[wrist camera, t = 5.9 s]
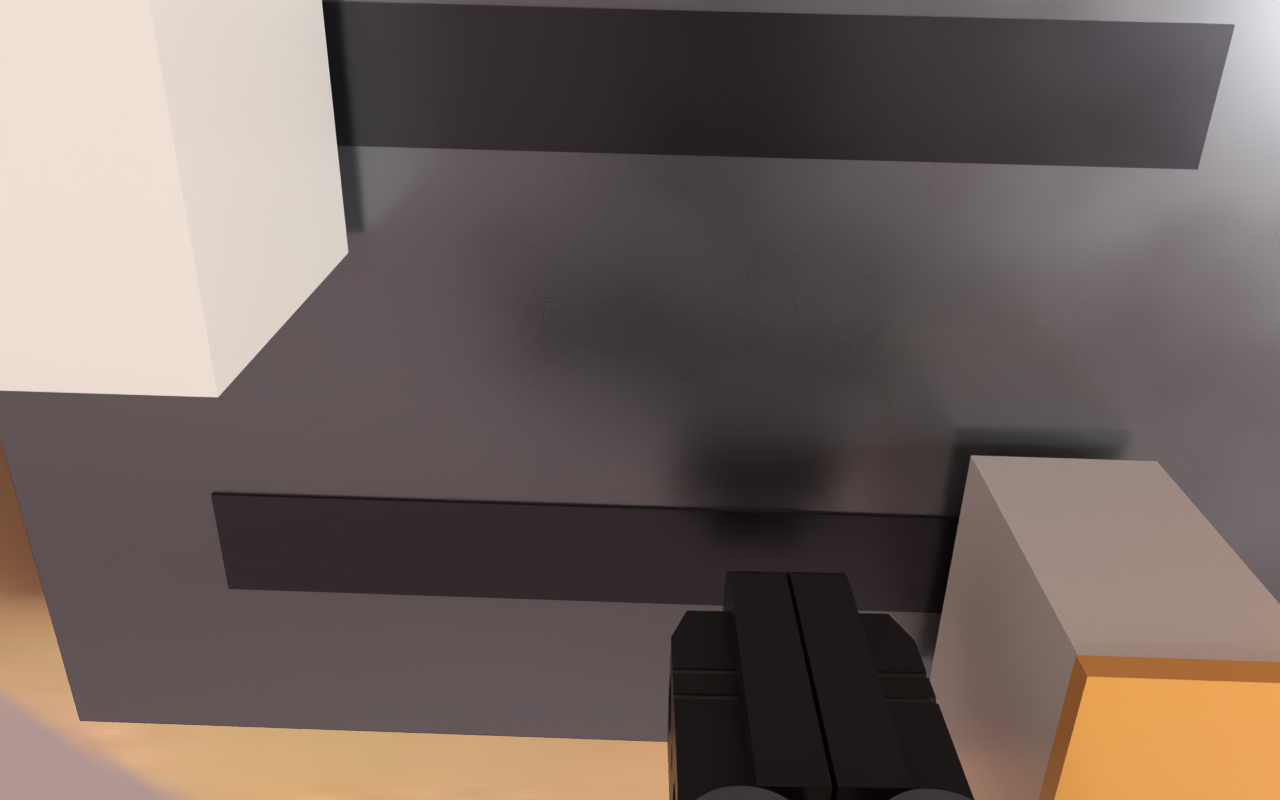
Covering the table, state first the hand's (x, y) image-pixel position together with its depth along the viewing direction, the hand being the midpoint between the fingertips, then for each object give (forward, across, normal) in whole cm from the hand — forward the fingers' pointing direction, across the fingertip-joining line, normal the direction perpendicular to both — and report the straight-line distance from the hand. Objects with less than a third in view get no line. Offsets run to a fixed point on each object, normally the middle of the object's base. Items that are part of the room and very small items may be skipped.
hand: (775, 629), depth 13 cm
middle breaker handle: (+1, +6, -6) cm, 9 cm away
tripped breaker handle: (+1, -4, 0) cm, 4 cm away
